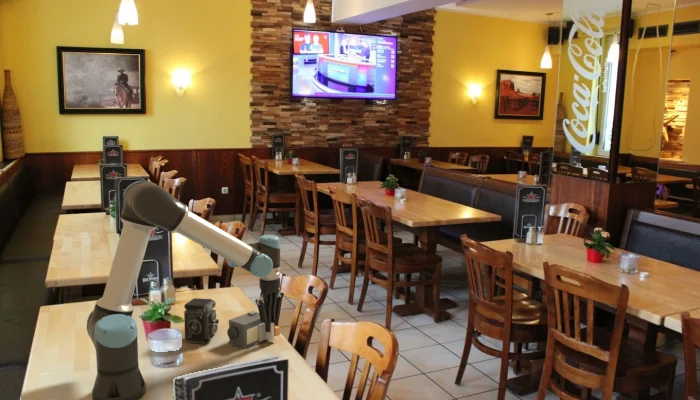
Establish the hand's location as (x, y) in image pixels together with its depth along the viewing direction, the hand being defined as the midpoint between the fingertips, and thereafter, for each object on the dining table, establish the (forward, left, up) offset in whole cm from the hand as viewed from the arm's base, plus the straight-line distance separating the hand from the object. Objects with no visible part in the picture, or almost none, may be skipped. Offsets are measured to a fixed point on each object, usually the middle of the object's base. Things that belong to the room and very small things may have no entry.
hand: (270, 339), depth 219 cm
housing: (-3, +8, -2) cm, 9 cm away
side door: (+1, +1, -1) cm, 1 cm away
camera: (-13, +22, -2) cm, 26 cm away
